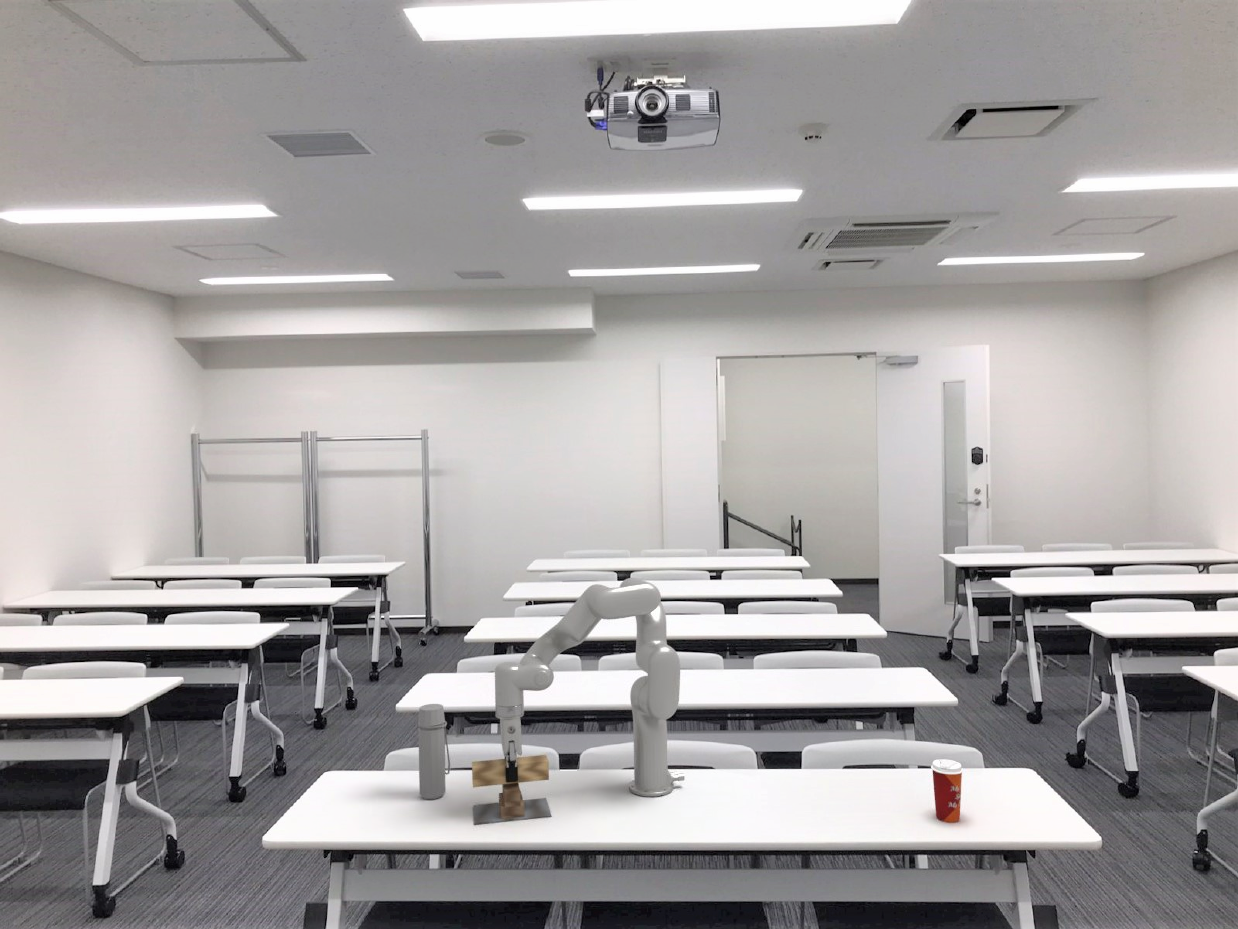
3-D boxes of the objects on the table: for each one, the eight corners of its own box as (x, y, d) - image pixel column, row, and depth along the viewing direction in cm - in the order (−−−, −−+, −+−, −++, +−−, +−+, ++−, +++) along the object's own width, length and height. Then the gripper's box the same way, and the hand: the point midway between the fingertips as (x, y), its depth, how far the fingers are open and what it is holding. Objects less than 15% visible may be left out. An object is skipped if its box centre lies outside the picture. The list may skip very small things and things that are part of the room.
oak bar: (546, 773, 229) (546, 754, 229) (548, 779, 224) (548, 761, 224) (472, 780, 225) (471, 761, 225) (473, 787, 220) (472, 768, 220)
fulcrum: (546, 799, 233) (545, 772, 233) (551, 816, 221) (550, 788, 221) (472, 806, 229) (472, 779, 229) (474, 825, 217) (473, 796, 217)
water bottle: (427, 803, 232) (426, 712, 231) (414, 795, 237) (412, 706, 237) (457, 794, 238) (455, 705, 238) (443, 786, 244) (441, 700, 243)
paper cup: (961, 827, 210) (960, 771, 210) (929, 820, 214) (927, 765, 214) (966, 815, 217) (965, 761, 217) (935, 809, 221) (934, 756, 221)
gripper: (526, 718, 217) (528, 788, 217) (520, 700, 234) (522, 765, 234) (497, 720, 216) (498, 791, 216) (493, 702, 232) (494, 768, 233)
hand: (510, 777), depth 225 cm, fingers closed on oak bar, 5 cm apart
